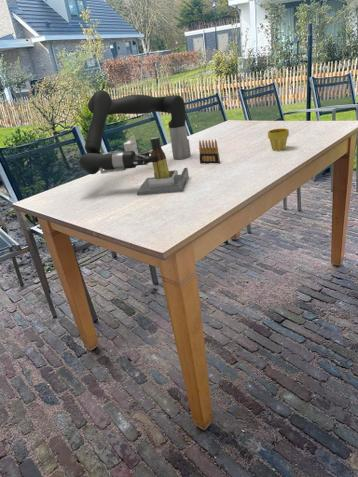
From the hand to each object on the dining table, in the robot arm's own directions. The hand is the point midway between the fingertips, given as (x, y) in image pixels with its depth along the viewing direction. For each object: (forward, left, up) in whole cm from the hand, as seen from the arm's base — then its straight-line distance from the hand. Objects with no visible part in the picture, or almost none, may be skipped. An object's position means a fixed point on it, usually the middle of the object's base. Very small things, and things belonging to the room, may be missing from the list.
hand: (159, 156), depth 159 cm
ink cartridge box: (-6, -59, -13) cm, 61 cm away
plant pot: (-70, -6, -13) cm, 71 cm away
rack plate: (0, 0, -13) cm, 13 cm away
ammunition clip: (-33, -15, -13) cm, 39 cm away
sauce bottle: (0, 0, -12) cm, 12 cm away
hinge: (+9, -49, -13) cm, 52 cm away
